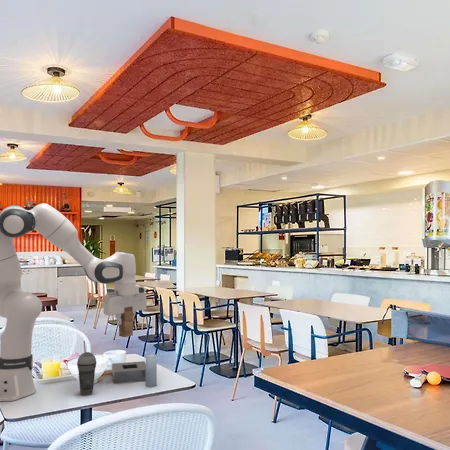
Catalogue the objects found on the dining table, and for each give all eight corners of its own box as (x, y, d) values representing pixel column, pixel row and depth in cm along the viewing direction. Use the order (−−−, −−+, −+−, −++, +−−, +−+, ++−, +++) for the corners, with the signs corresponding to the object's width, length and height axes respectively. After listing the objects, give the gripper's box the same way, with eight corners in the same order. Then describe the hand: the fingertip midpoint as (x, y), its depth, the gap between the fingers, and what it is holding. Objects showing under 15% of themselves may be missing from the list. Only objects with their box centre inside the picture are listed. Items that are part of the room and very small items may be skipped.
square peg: (119, 336, 199) (118, 307, 199) (126, 334, 202) (126, 305, 202) (125, 337, 197) (125, 307, 197) (132, 335, 200) (132, 306, 200)
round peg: (146, 387, 191) (146, 357, 191) (144, 384, 195) (144, 354, 195) (157, 386, 192) (157, 356, 193) (155, 383, 196) (155, 353, 197)
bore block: (114, 383, 196) (114, 372, 196) (112, 374, 210) (112, 363, 210) (148, 380, 200) (148, 369, 201) (144, 371, 214) (144, 361, 214)
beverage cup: (90, 397, 179) (91, 343, 180) (72, 395, 181) (73, 342, 181) (99, 391, 186) (100, 339, 187) (82, 389, 188) (82, 338, 188)
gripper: (109, 293, 190) (110, 328, 190) (148, 288, 206) (149, 320, 206) (100, 292, 194) (100, 326, 194) (138, 287, 210) (139, 318, 210)
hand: (125, 323), depth 200 cm, fingers closed on square peg, 4 cm apart
